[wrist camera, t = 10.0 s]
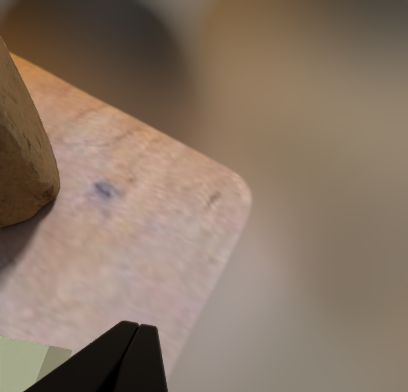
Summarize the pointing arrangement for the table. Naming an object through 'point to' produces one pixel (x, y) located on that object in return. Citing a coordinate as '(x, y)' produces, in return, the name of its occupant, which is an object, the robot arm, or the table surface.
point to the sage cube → (27, 363)
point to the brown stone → (22, 150)
